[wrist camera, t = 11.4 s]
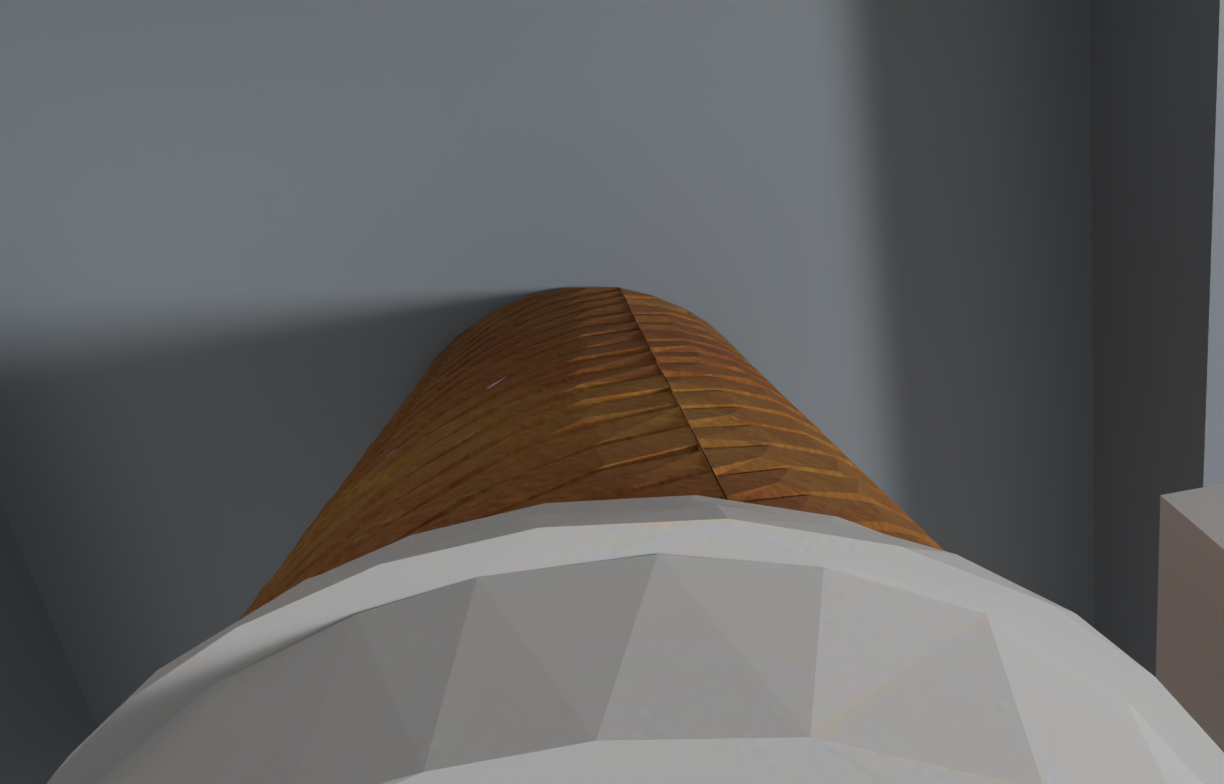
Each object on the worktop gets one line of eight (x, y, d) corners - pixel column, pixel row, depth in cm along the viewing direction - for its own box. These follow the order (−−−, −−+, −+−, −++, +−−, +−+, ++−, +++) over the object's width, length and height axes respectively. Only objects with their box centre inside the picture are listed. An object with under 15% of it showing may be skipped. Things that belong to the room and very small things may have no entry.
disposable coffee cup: (797, 96, 16) (1399, 387, 5) (922, 618, 19) (1441, 1509, 8) (196, 292, 16) (-565, 975, 5) (423, 764, 20) (260, 1787, 9)
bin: (-282, -62, 15) (-555, -76, 11) (1131, -328, 15) (1329, -431, 11) (176, 968, 22) (102, 1167, 18) (1126, 795, 22) (1243, 960, 18)
